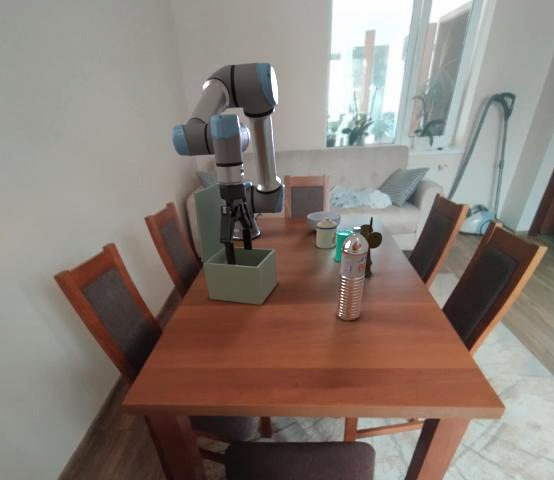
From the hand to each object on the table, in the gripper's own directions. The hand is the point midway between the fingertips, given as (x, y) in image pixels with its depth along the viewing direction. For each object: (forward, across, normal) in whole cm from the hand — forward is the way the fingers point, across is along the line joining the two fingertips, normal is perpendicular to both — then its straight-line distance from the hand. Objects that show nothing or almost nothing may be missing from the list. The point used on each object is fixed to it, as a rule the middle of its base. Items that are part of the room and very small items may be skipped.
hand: (240, 256), depth 107 cm
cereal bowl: (+12, +75, -12) cm, 77 cm away
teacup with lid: (+12, +53, -18) cm, 58 cm away
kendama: (+12, +22, -39) cm, 46 cm away
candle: (+12, +37, -28) cm, 48 cm away
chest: (+12, 0, 0) cm, 12 cm away
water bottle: (+12, -9, -37) cm, 40 cm away
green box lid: (-10, 0, +8) cm, 13 cm away
